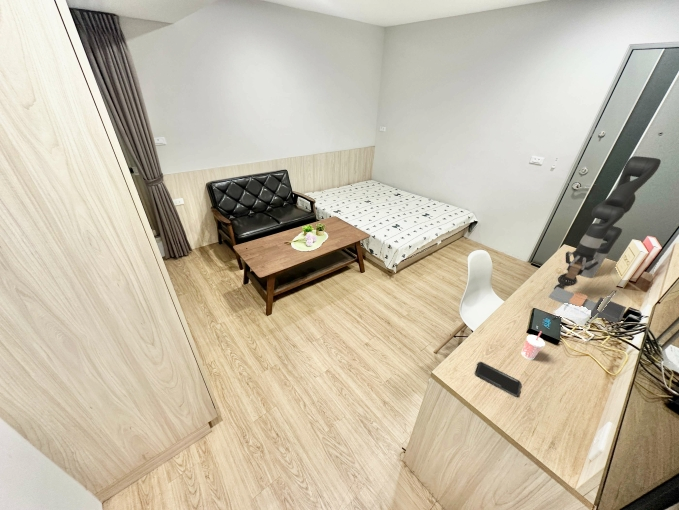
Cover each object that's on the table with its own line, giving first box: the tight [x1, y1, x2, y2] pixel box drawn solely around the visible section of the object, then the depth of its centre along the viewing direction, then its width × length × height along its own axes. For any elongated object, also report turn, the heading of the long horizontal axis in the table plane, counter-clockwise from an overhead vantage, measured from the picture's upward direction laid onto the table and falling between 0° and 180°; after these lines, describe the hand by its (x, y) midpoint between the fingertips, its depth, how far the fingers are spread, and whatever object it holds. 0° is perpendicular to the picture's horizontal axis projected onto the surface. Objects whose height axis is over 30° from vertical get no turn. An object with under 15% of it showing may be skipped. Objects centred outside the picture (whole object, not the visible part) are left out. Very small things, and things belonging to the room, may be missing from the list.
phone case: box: [557, 315, 596, 343], centre depth 124 cm, size 7×1×15 cm
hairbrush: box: [553, 272, 577, 290], centre depth 156 cm, size 8×4×25 cm
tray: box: [591, 297, 627, 323], centre depth 131 cm, size 16×10×5 cm, turn 128°
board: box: [548, 287, 597, 312], centre depth 141 cm, size 12×18×2 cm, turn 38°
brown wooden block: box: [565, 261, 582, 280], centre depth 137 cm, size 14×4×6 cm, turn 129°
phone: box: [474, 361, 522, 398], centre depth 99 cm, size 8×1×15 cm
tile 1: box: [574, 291, 589, 300], centre depth 141 cm, size 5×5×2 cm
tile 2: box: [569, 296, 585, 307], centre depth 137 cm, size 5×5×2 cm
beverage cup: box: [521, 330, 546, 361], centre depth 106 cm, size 6×6×14 cm
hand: (573, 272), depth 138 cm, fingers closed on brown wooden block, 3 cm apart
